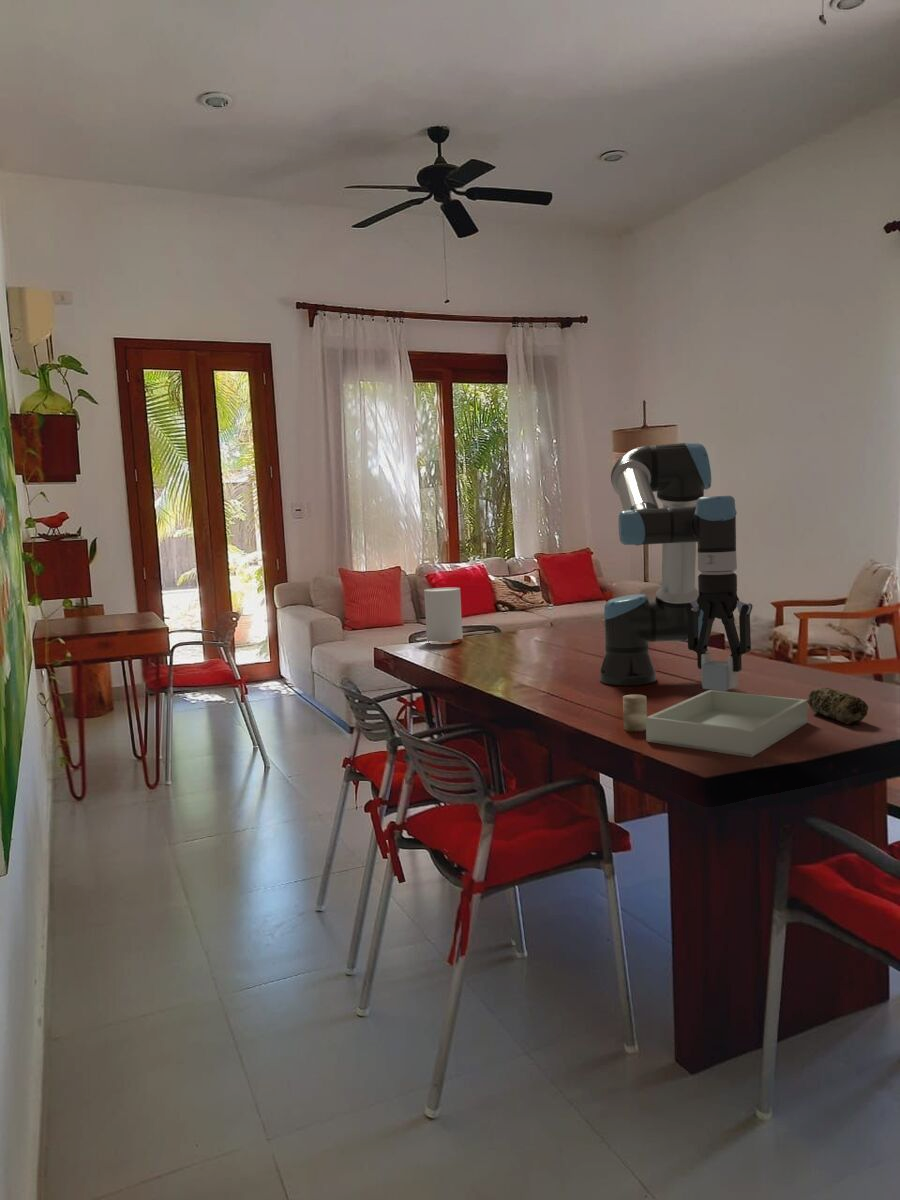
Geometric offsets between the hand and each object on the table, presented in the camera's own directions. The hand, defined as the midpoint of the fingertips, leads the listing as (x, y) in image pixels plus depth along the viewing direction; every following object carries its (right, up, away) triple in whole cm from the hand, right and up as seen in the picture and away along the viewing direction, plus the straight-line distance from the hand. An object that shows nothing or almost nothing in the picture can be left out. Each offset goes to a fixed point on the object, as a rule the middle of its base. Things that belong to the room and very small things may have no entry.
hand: (719, 685), depth 177 cm
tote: (+3, -10, +4) cm, 11 cm away
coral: (+29, -8, +10) cm, 32 cm away
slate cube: (0, 0, 0) cm, 0 cm away
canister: (-57, +2, +149) cm, 159 cm away
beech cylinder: (-15, -10, +11) cm, 21 cm away
